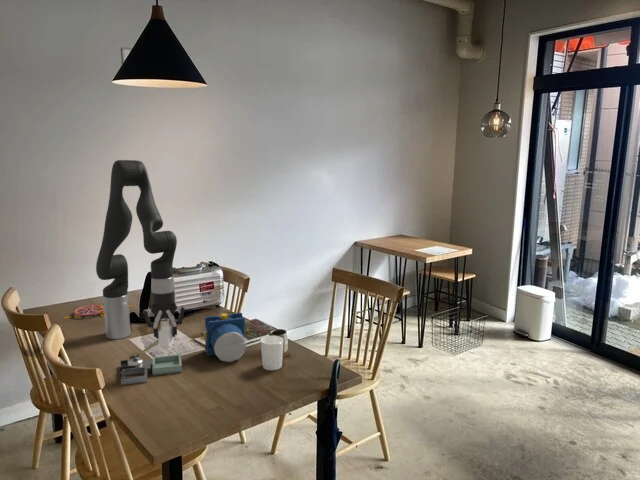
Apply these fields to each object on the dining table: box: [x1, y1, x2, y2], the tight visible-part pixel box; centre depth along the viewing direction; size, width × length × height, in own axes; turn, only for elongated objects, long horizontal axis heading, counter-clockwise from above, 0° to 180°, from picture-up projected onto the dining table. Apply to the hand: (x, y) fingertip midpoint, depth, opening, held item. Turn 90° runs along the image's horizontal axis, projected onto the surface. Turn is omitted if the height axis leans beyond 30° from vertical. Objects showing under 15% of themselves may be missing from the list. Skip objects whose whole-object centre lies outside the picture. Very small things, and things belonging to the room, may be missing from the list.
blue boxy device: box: [203, 312, 247, 363], centre depth 188 cm, size 13×15×15 cm
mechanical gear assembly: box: [63, 302, 135, 319], centre depth 235 cm, size 30×4×15 cm
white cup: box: [260, 335, 284, 371], centre depth 180 cm, size 8×8×10 cm
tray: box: [151, 353, 183, 377], centre depth 179 cm, size 10×10×3 cm
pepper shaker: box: [157, 318, 174, 349], centre depth 177 cm, size 4×4×10 cm
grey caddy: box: [118, 357, 152, 386], centre depth 174 cm, size 15×10×4 cm, turn 17°
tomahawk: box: [129, 339, 159, 359], centre depth 196 cm, size 21×7×1 cm, turn 164°
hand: (165, 336), depth 177 cm, fingers closed on pepper shaker, 5 cm apart
